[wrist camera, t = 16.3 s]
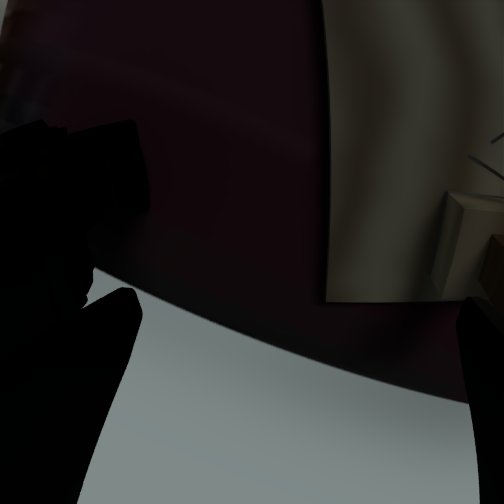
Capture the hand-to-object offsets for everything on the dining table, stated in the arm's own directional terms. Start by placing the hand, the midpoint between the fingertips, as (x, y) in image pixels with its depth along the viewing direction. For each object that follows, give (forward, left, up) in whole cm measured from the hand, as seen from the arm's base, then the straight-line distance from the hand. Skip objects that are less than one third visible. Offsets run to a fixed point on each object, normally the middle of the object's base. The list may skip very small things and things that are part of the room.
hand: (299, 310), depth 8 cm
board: (+9, +2, -13) cm, 16 cm away
